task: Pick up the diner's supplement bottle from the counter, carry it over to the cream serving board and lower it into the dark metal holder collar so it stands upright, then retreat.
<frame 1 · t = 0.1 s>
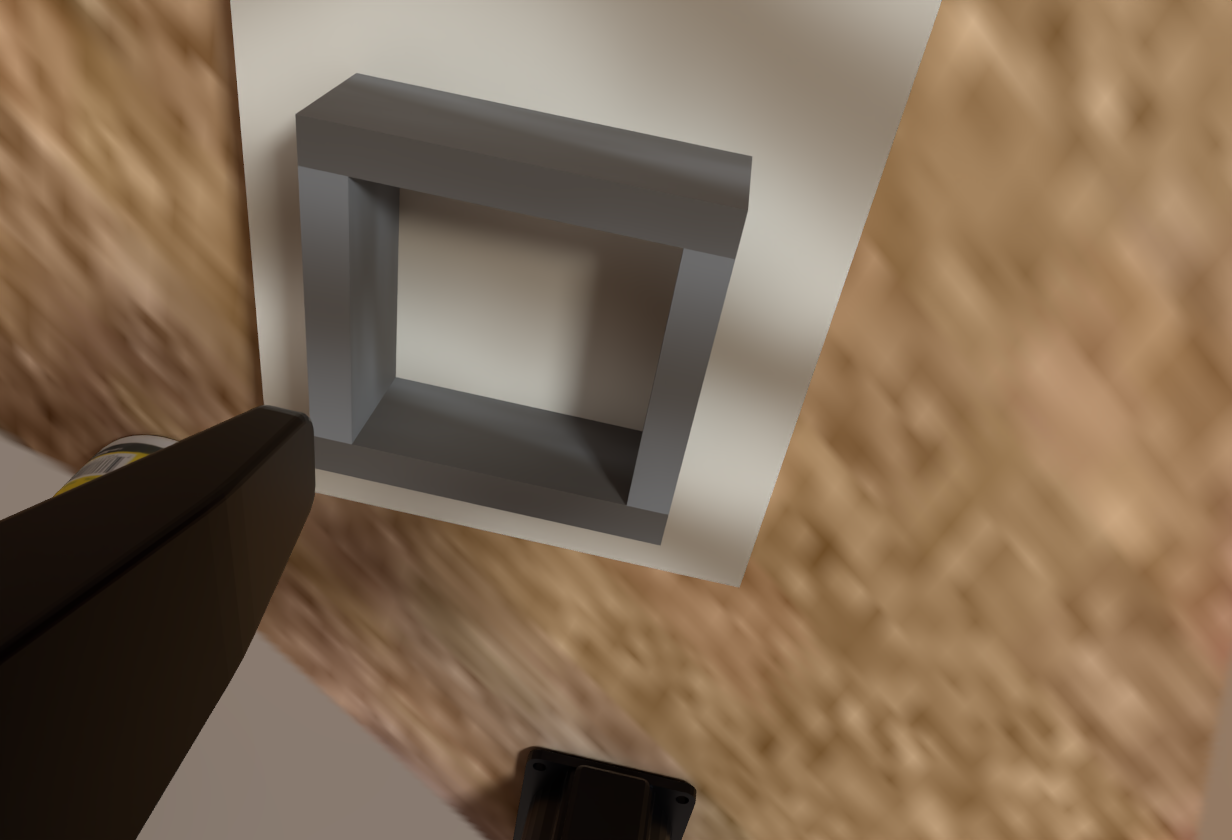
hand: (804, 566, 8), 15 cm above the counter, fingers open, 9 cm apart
supplement bottle: (182, 492, 30), on the counter
holder board: (545, 265, 23), on the counter
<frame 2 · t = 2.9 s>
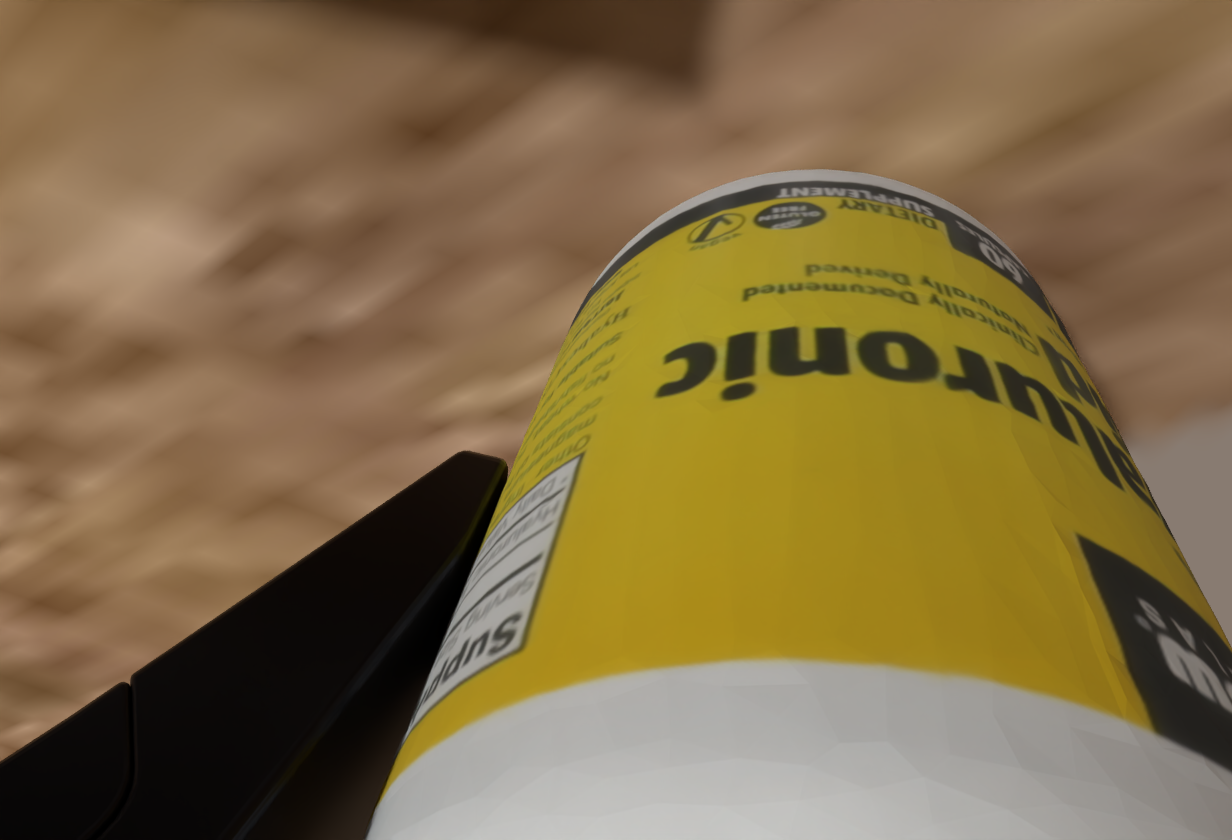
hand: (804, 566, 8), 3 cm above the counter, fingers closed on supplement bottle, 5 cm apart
supplement bottle: (798, 374, 11), on the counter, touching gripper
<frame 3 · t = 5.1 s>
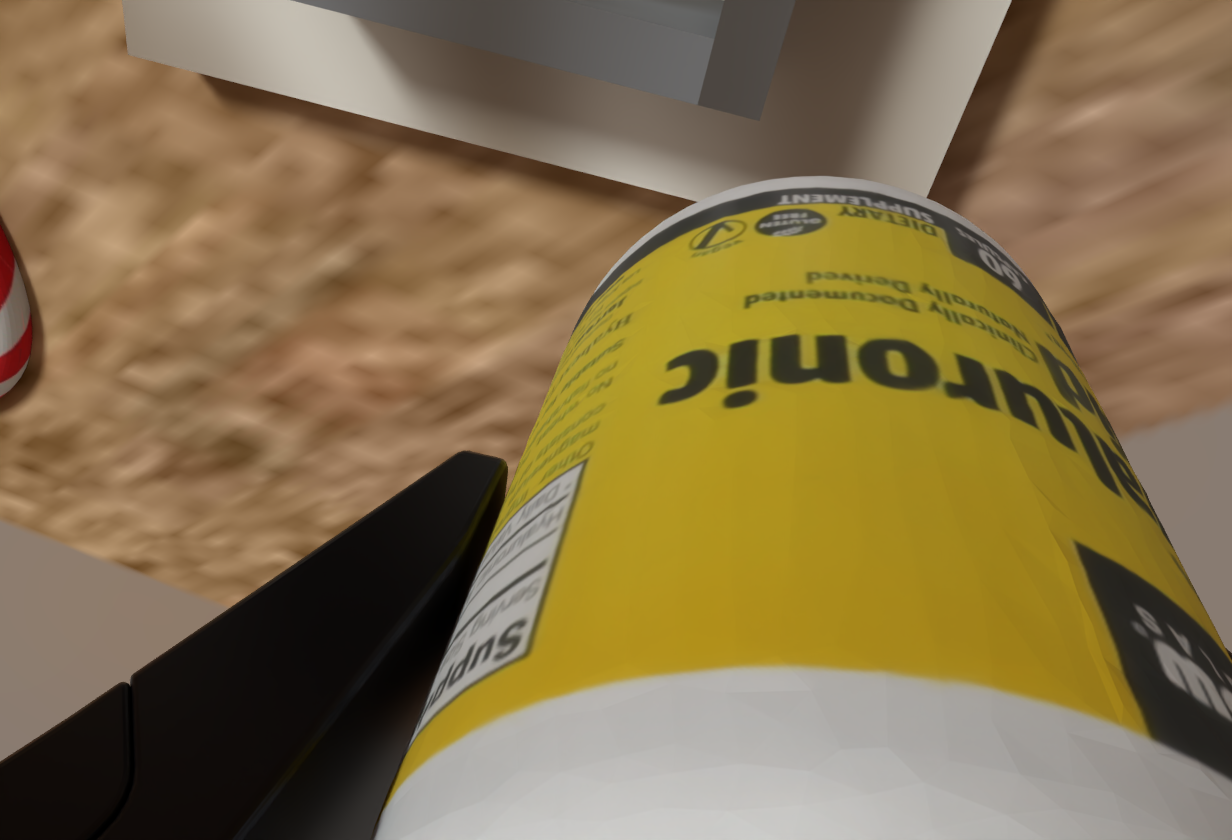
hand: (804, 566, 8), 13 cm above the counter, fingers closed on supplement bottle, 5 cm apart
supplement bottle: (799, 378, 11), point 10 cm above the counter, touching gripper
when the fingers open (5 cm above the counter, at t = 7.8 s): supplement bottle stays where it is, resting on holder board.
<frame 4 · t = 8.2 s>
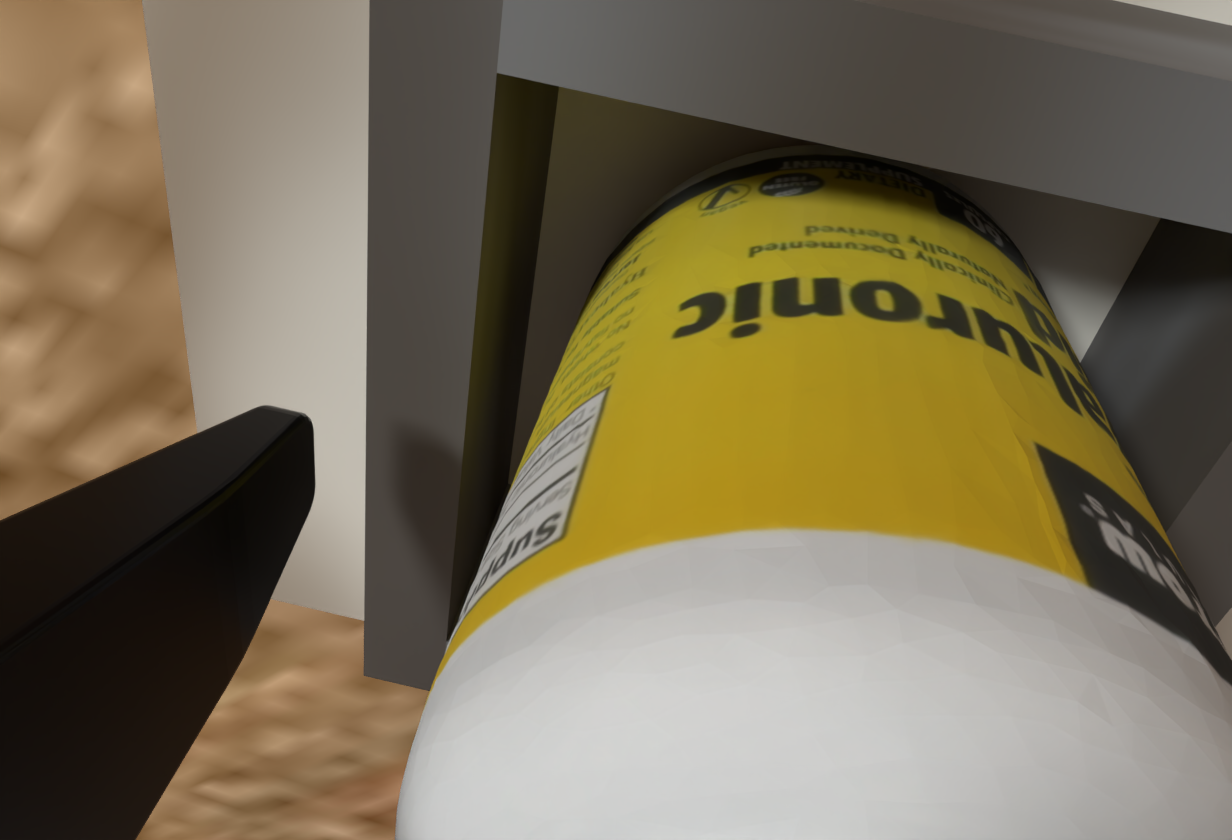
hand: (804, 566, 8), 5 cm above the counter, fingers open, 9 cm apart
supplement bottle: (800, 338, 11), point 1 cm above the counter, touching holder board
holder board: (793, 286, 12), on the counter
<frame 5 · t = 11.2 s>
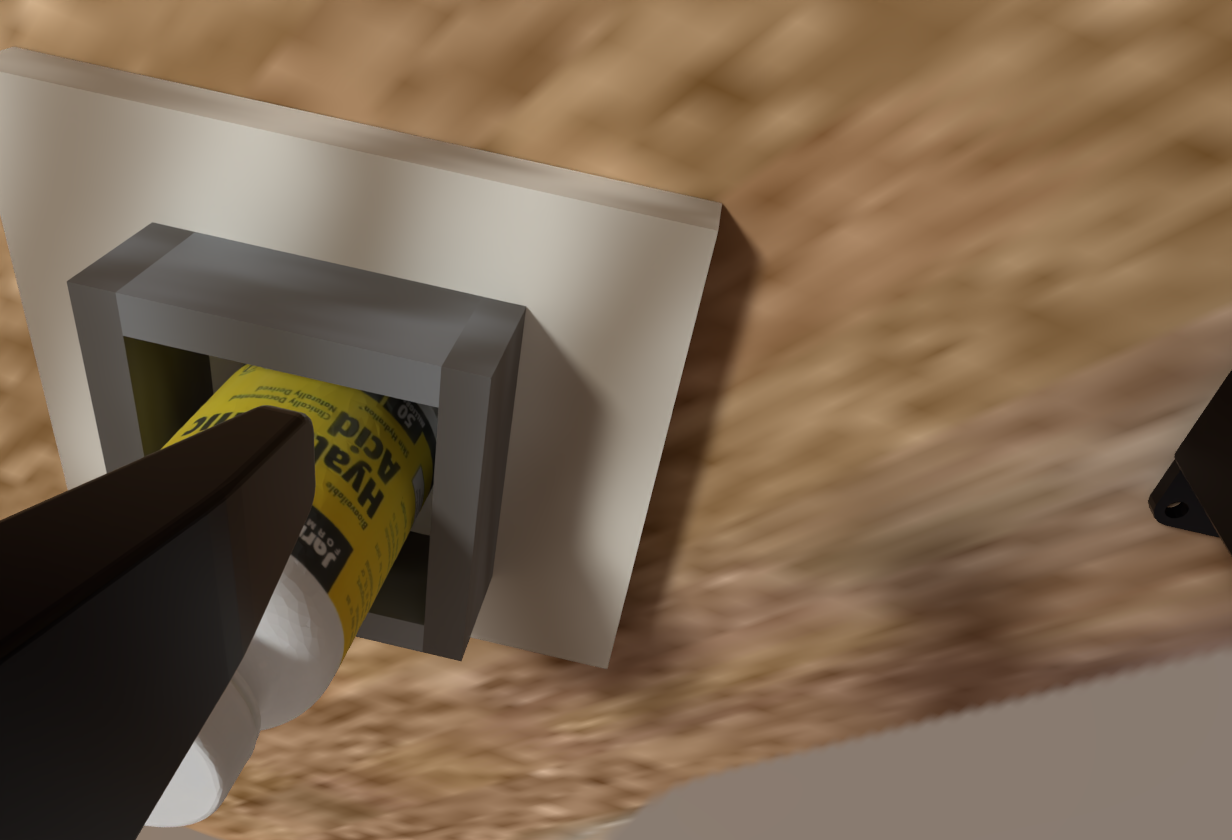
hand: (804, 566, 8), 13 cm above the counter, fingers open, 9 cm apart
supplement bottle: (346, 416, 23), point 1 cm above the counter, touching holder board
holder board: (362, 386, 24), on the counter
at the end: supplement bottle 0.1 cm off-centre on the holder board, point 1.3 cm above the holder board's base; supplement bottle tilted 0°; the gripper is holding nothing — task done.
